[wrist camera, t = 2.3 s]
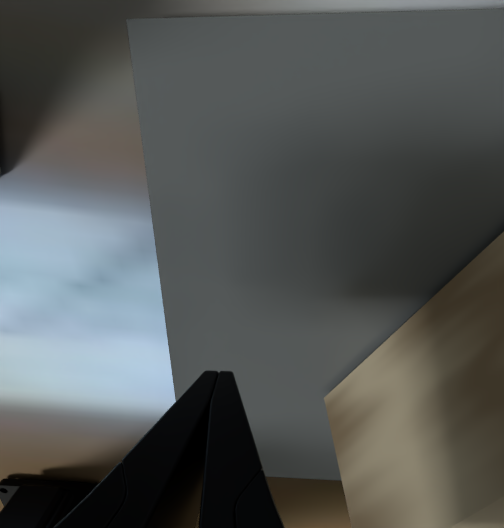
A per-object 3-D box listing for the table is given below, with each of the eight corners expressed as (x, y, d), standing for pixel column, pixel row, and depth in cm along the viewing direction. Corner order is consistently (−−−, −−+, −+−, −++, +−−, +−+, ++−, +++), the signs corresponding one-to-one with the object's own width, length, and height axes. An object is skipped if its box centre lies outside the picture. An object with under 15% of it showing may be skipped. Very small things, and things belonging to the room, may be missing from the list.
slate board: (555, 473, 16) (572, 492, 15) (189, 454, 17) (184, 472, 16) (810, 14, 9) (874, -2, 8) (139, 30, 10) (126, 18, 9)
